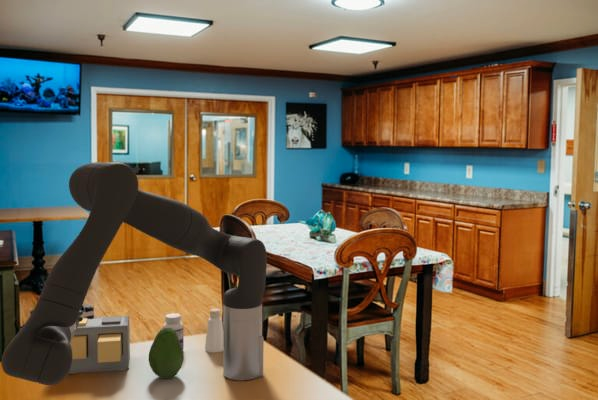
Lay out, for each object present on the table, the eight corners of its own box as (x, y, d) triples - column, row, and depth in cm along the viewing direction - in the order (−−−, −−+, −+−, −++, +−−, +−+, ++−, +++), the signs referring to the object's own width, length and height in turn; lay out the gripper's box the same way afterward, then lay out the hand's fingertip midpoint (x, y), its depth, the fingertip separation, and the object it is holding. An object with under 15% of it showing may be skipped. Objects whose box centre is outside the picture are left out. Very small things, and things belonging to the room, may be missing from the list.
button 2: (122, 349, 146) (122, 329, 146) (120, 361, 138) (119, 340, 138) (101, 350, 145) (100, 331, 145) (97, 362, 137) (97, 341, 137)
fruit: (149, 385, 134) (148, 334, 133) (148, 372, 142) (147, 324, 141) (184, 382, 137) (184, 332, 135) (182, 369, 144) (181, 322, 143)
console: (129, 357, 152) (129, 313, 151) (128, 369, 144) (127, 323, 143) (63, 361, 148) (62, 316, 147) (58, 374, 140) (57, 326, 139)
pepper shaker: (203, 352, 156) (203, 312, 155) (206, 345, 162) (206, 306, 160) (223, 353, 156) (223, 312, 155) (226, 346, 161) (226, 307, 160)
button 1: (90, 346, 148) (89, 327, 147) (86, 358, 140) (85, 337, 139) (68, 348, 147) (68, 328, 146) (63, 359, 139) (63, 339, 138)
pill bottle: (160, 348, 158) (160, 313, 158) (180, 346, 161) (180, 311, 160) (165, 355, 154) (165, 319, 153) (185, 352, 156) (185, 317, 155)
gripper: (90, 306, 114) (99, 284, 131) (17, 310, 111) (35, 287, 128) (92, 343, 115) (100, 317, 132) (19, 349, 112) (37, 321, 129)
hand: (68, 302), depth 130 cm, fingers closed
